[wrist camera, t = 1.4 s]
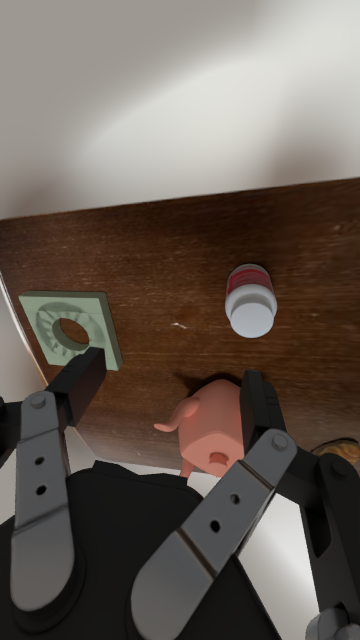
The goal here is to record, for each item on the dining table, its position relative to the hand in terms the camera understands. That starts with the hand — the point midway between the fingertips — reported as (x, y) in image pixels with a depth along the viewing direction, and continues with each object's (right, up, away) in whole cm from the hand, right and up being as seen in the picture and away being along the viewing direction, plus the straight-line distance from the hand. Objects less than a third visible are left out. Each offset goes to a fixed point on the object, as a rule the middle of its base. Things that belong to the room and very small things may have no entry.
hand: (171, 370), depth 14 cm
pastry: (+33, -25, +38) cm, 56 cm away
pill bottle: (+11, +8, +23) cm, 27 cm away
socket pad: (-20, +1, +35) cm, 40 cm away
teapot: (+9, -14, +38) cm, 41 cm away
